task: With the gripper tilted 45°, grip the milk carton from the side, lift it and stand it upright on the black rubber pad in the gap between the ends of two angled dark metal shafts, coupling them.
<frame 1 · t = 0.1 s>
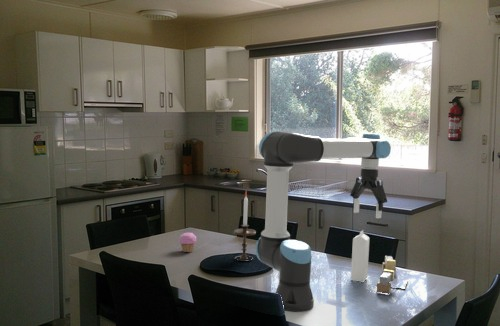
hand: (367, 215, 220), 28 cm above the table, tool pointing down, fingers open, 13 cm apart
milk: (358, 280, 217), on the table
cupcake: (187, 252, 252), on the table
shaft rig: (392, 283, 213), on the table
candlestick: (243, 259, 242), on the table
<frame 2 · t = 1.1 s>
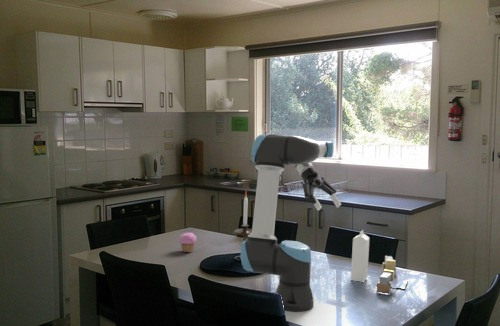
hand: (329, 207, 226), 30 cm above the table, tool tilted 45°, fingers open, 13 cm apart
nothing on the table moved.
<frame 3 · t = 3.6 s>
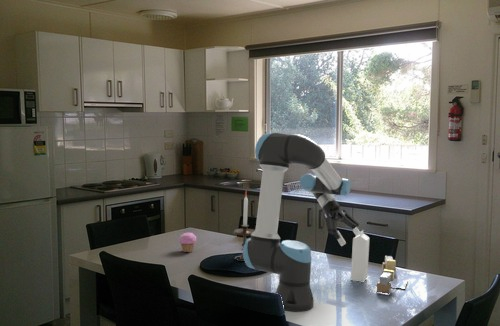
hand: (353, 242, 220), 16 cm above the table, tool tilted 45°, fingers open, 13 cm apart
nothing on the table moved.
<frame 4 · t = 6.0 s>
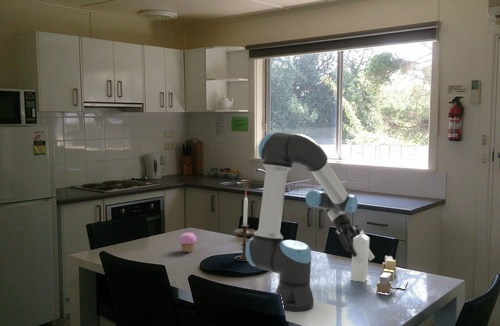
hand: (366, 260, 213), 10 cm above the table, tool tilted 45°, fingers closed on milk, 8 cm apart
milk: (358, 280, 217), on the table, touching gripper
everything else where it was.
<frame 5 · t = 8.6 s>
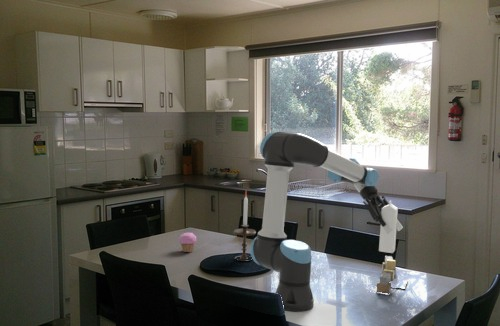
hand: (395, 230, 210), 24 cm above the table, tool tilted 45°, fingers closed on milk, 8 cm apart
milk: (386, 251, 214), point 14 cm above the table, touching gripper
everything else where it was.
when the fingers open (11 cm above the table, at t = 11.6 s): milk drops 1 cm, resting on shaft rig.
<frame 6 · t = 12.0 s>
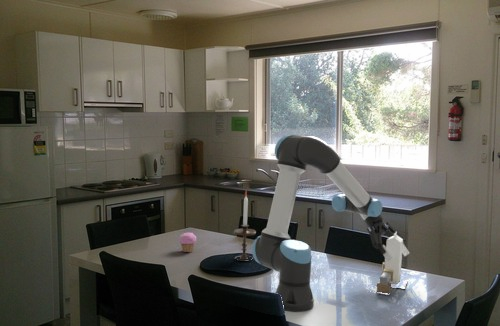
hand: (398, 257, 210), 12 cm above the table, tool tilted 45°, fingers open, 12 cm apart
milk: (391, 282, 213), resting on shaft rig
everything else where it was.
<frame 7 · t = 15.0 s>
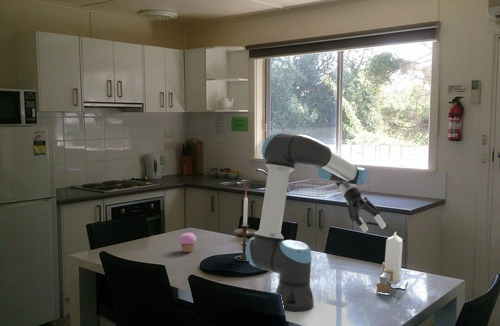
hand: (375, 229, 219), 22 cm above the table, tool tilted 45°, fingers open, 13 cm apart
nothing on the table moved.
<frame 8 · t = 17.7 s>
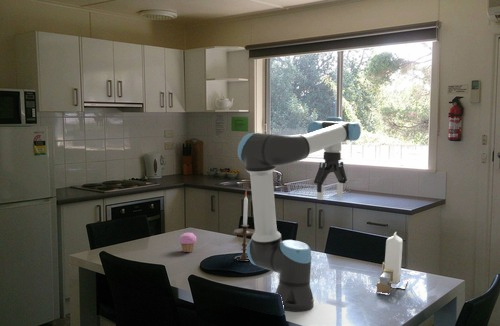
hand: (329, 198, 222), 35 cm above the table, tool pointing down, fingers open, 13 cm apart
nothing on the table moved.
at the end: milk inside the target area (0.1 cm from its centre), resting on shaft rig; milk tilted 0°; the gripper is holding nothing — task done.
